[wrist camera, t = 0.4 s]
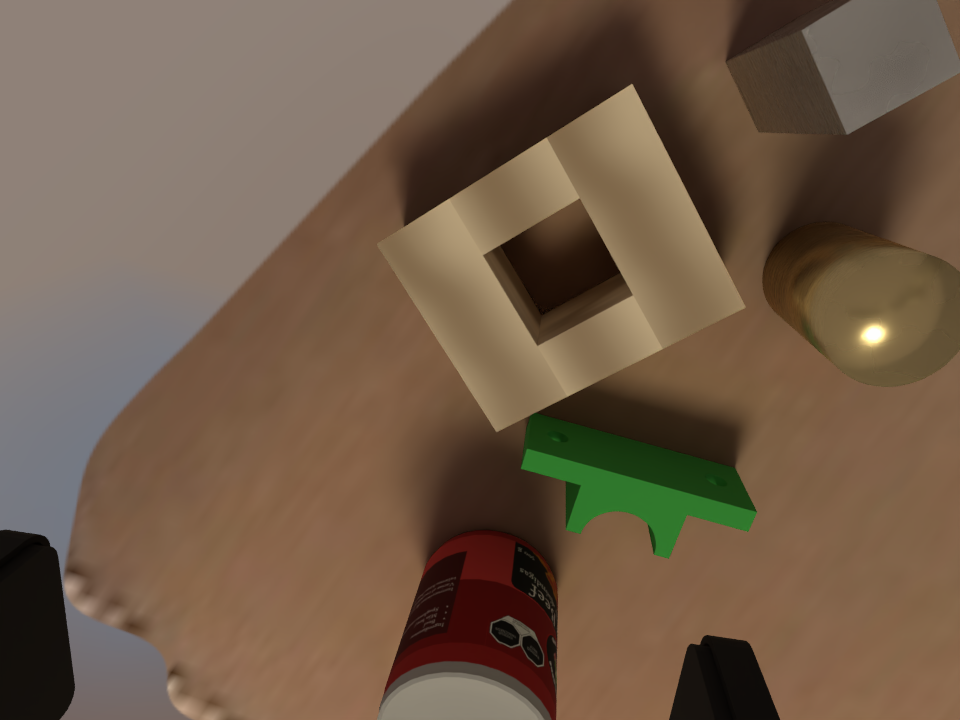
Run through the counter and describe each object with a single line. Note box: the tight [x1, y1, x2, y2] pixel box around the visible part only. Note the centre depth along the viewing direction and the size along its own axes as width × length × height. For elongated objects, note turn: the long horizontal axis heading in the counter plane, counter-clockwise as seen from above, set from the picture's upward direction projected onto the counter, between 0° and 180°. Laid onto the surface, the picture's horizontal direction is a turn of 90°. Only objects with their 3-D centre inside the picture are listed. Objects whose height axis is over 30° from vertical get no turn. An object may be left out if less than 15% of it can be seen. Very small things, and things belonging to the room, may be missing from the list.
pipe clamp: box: [521, 413, 757, 559], centre depth 34 cm, size 11×4×5 cm, turn 77°
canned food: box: [377, 530, 558, 720], centre depth 34 cm, size 8×8×11 cm
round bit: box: [762, 222, 960, 387], centre depth 28 cm, size 5×5×8 cm
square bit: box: [726, 0, 960, 135], centre depth 24 cm, size 3×3×10 cm
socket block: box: [377, 84, 745, 432], centre depth 30 cm, size 12×10×5 cm
